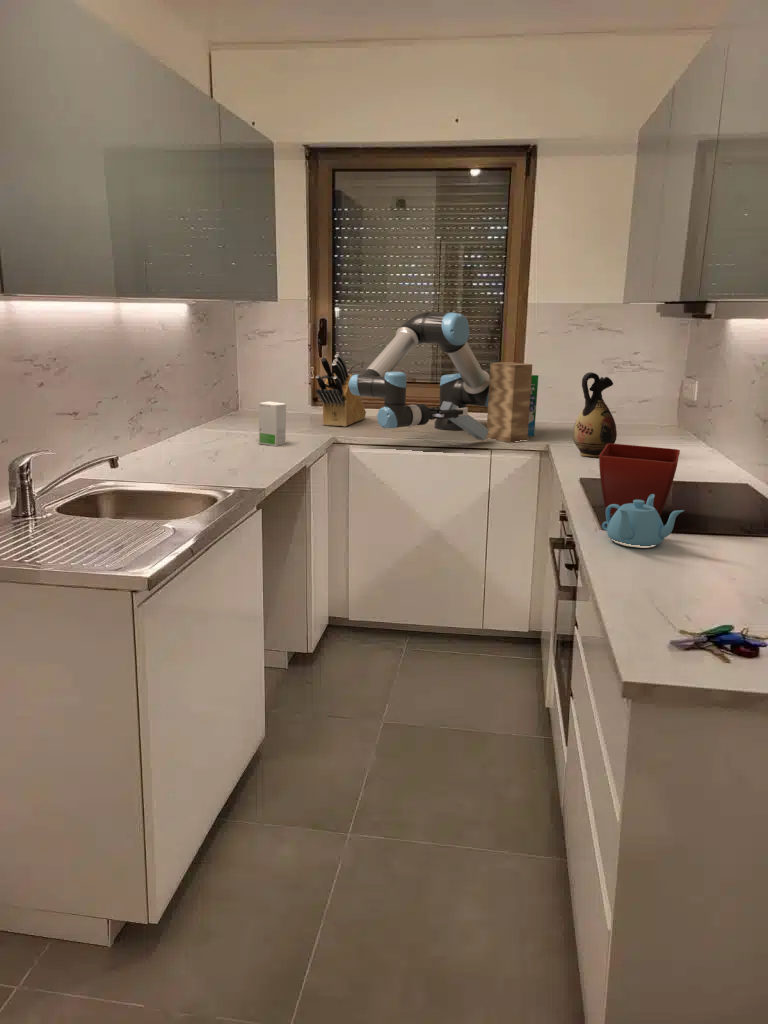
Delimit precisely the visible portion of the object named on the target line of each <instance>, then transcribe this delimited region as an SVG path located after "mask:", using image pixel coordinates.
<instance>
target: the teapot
mask: <svg viewBox="0 0 768 1024" xmlns="http://www.w3.org/2000/svg"><path fill="white" fill-rule="evenodd" d="M654 497H655V495H654V494H651V495H650V496H649V497H648V499H647V502H646V505H645V504H644V503H645V501H643V500H633V503H628V504H623V505H622V506H619V505H617V504H611V505H609V506H608V507H607V508H606V509H605V520H606V521H604V522H603V523H602V524H601V528H602V529H603V531H606V534H607V536H608V537H610V538H611V539H613V540H615V541H618V542H622V543H626V544H631V545H640V546H651V545H657V544H659V543H660V544H661V543H662V542H663V541H664V540H665V538H667V537H668V536H670V535H671V533H672V531H673V530H674V527H675V522H676V518H677V517H678V515H680V514H682V513H683V512H684V511H685V509H684V510H683V509H680V510H679V509H678V510H673V511H672V512H671V513H670V514H669V517H668V519H667V522H666V524H664V523H663V521H662V517H661V515H660V516H659V514H658V512H657V511H656V509H655V508H654V507H653V501H654ZM612 507H614V508H617V509H618V510H617V511H616V512H615V514H614V515H613V516H610V509H611V508H612ZM610 538H609V539H610ZM611 539H610V540H611ZM660 544H659V545H660ZM657 546H658V545H657Z"/></svg>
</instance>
